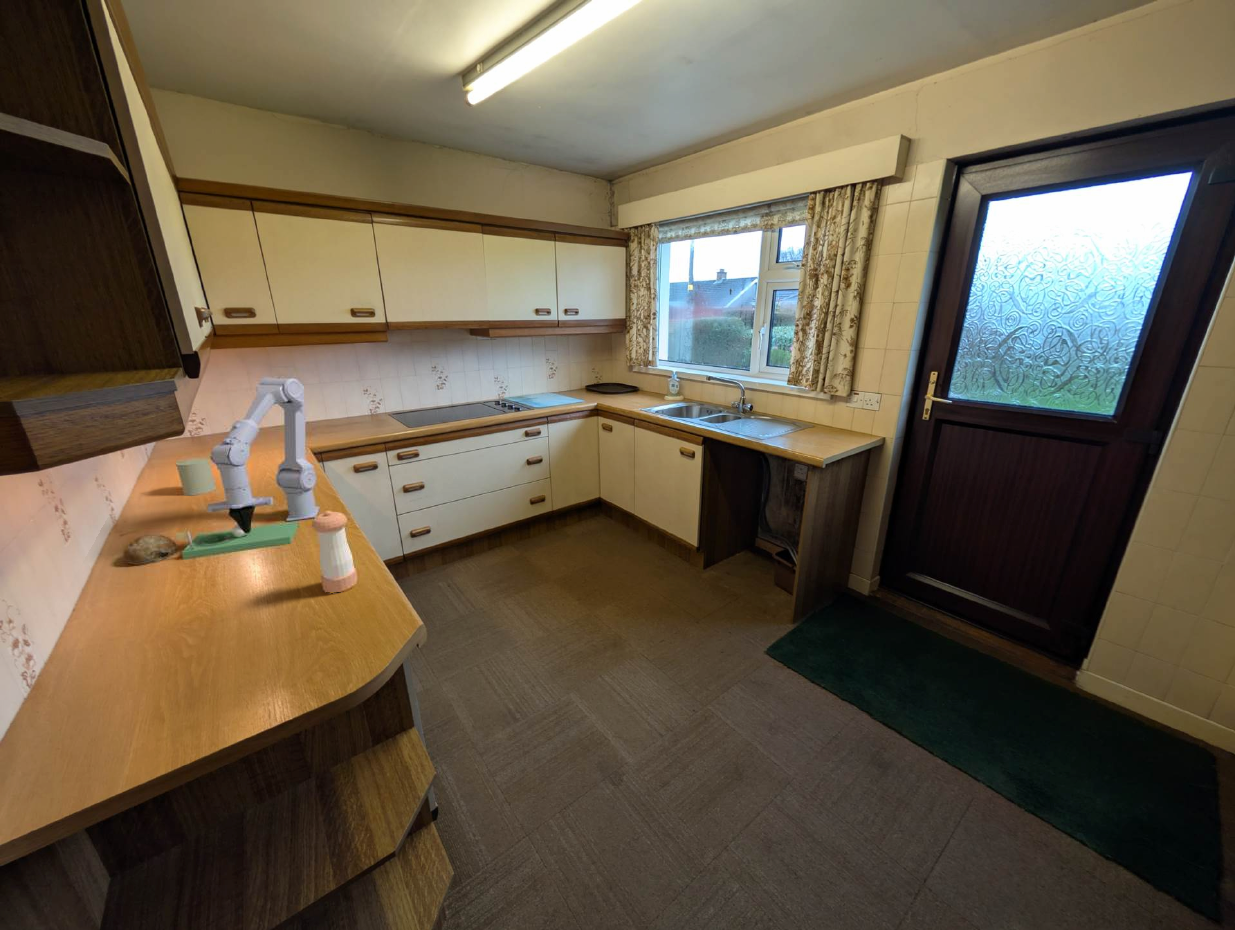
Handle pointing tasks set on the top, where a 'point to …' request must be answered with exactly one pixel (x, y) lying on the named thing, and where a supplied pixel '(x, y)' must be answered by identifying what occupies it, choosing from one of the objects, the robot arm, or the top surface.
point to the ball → (238, 531)
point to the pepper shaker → (334, 552)
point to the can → (196, 476)
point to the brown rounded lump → (149, 549)
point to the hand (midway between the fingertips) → (247, 531)
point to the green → (238, 540)
